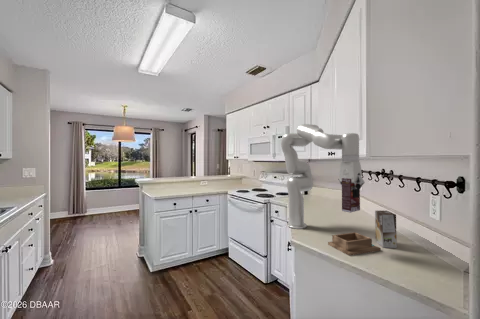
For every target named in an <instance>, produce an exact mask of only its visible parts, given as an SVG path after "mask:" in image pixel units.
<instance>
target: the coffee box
mask: <svg viewBox="0 0 480 319" xmlns="http://www.w3.org/2000/svg"><path fill="white" fill-rule="evenodd" d="M374 222H375V223H374V224H375V225H374V227H375V228H374V229H375V242H376V243H377V244H378V245H379V246H381V247H382V248H391V249H397V247H398V246H397V242H398V241H397V236H398V235H397V214H396V213H393V212H391V211H389V210H374Z"/></svg>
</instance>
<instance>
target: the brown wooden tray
mask: <svg viewBox="0 0 480 319" xmlns="http://www.w3.org/2000/svg"><path fill="white" fill-rule="evenodd" d="M331 236H332V237H331V238H332V240H331V241H327V245H328V246H330V247H332V248H334V249H335V250H338V251H339V252H342V253H343V254H345V255H347V256H349V257H350V256H356V255H362V254H367V253H374V252H379V251H381V247H380V246H377V245H375V244H373V243H372V242H373V239H372V238H371V237H368V236H366V235H363V234H361V233H358V232H356V231H355V232H347V233H339V234H332V235H331Z"/></svg>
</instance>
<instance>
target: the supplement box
mask: <svg viewBox="0 0 480 319" xmlns="http://www.w3.org/2000/svg"><path fill="white" fill-rule="evenodd" d="M356 185H357V184H356ZM353 189H354V187H353V183H351V179H349V178H342V185H341V211H342V212H344V213H346V212H347V213H349V214H350V213H353V212H354V213H355V212H358V211H361V194H360V193H361V189H359V198H353Z"/></svg>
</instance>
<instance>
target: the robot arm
mask: <svg viewBox="0 0 480 319" xmlns="http://www.w3.org/2000/svg"><path fill="white" fill-rule="evenodd" d="M280 141H281V142H280V146H281V150H282V152H283V157H284V161H285V162H284V163H285V168H286V172H287V174H288V175H291V176H292V177H290V178H288V180H287V181H286V187H287V193H288V217H287V220H288V222H287V223H286V227H288V228H290V229H297V230H298V229H299V230H300V229H305V228H307V227H308V226H307V223H305V201H304V200H305V199H304V196H303V193H302V192H307V191H311V190H312V189H313V186H314V179H313V175H312V169H311V166H310V164H309V163H308V161H306V160H299V157H298V151H297V150H296V149H295V148H294V147H307V146H308V145H309V144H311V143H313V144H314V145H315V146H317V147H319V148H322V149H325V150H341V162H340V165H339V172H338V177H339V178H338V182H339V183H340V185H341V186H342V178H349V179H351V183H353V187H354V189H353V198H359V189H360V190H361V188H362V187H363V185H364V184H365V180H364V179H363V173H362V166H361V162H360V135H359V134H358V133H356V132H355V133H354V132H350V133H349V132H348V133H344V134H334V133H333V134H329V133H325V132H324V130H323V129H322V128H320V127H319V126H318V125H316V124H309V123H303V124H300V125H299V126H298V127H297V129H296V133H295V132H294V133H293V132H290V133H286V134H284V135H282V138H281V140H280ZM356 184H357V185H356Z"/></svg>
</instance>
